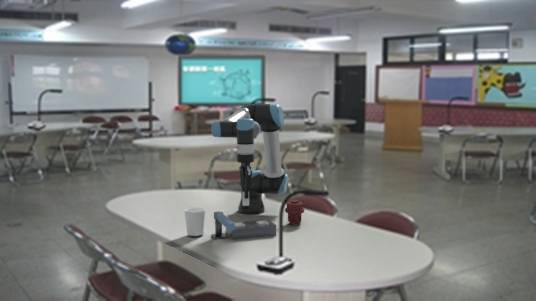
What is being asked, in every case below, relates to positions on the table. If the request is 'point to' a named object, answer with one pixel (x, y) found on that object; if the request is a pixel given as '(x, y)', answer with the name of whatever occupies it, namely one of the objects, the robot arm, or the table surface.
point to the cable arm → (224, 220)
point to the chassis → (252, 229)
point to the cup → (195, 221)
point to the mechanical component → (294, 212)
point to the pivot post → (218, 231)
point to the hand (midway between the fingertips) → (245, 205)
